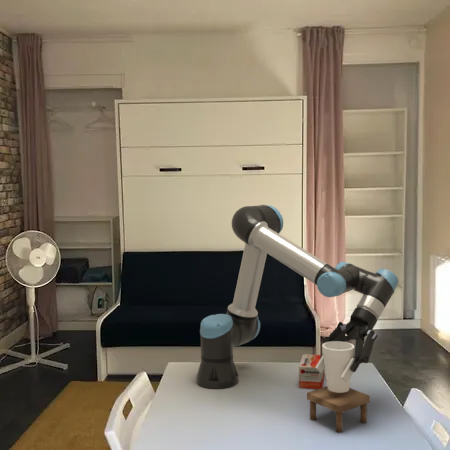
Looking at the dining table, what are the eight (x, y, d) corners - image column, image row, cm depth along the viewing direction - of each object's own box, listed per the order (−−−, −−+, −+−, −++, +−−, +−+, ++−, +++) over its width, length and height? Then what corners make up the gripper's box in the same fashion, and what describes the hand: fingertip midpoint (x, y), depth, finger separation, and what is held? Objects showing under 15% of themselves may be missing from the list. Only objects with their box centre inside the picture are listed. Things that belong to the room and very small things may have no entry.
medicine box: (302, 374, 202) (302, 353, 202) (324, 375, 200) (324, 354, 200) (298, 388, 188) (298, 366, 187) (322, 390, 186) (322, 367, 185)
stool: (307, 418, 163) (306, 392, 162) (337, 407, 170) (336, 383, 170) (339, 434, 152) (339, 406, 152) (369, 422, 160) (369, 395, 159)
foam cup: (354, 395, 155) (354, 351, 154) (322, 393, 157) (321, 349, 156) (353, 383, 164) (353, 341, 163) (322, 382, 166) (322, 340, 165)
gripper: (402, 327, 159) (366, 392, 151) (345, 314, 177) (310, 371, 169) (391, 312, 156) (353, 378, 148) (334, 300, 174) (298, 358, 166)
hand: (330, 374), depth 158 cm, fingers closed on foam cup, 9 cm apart
